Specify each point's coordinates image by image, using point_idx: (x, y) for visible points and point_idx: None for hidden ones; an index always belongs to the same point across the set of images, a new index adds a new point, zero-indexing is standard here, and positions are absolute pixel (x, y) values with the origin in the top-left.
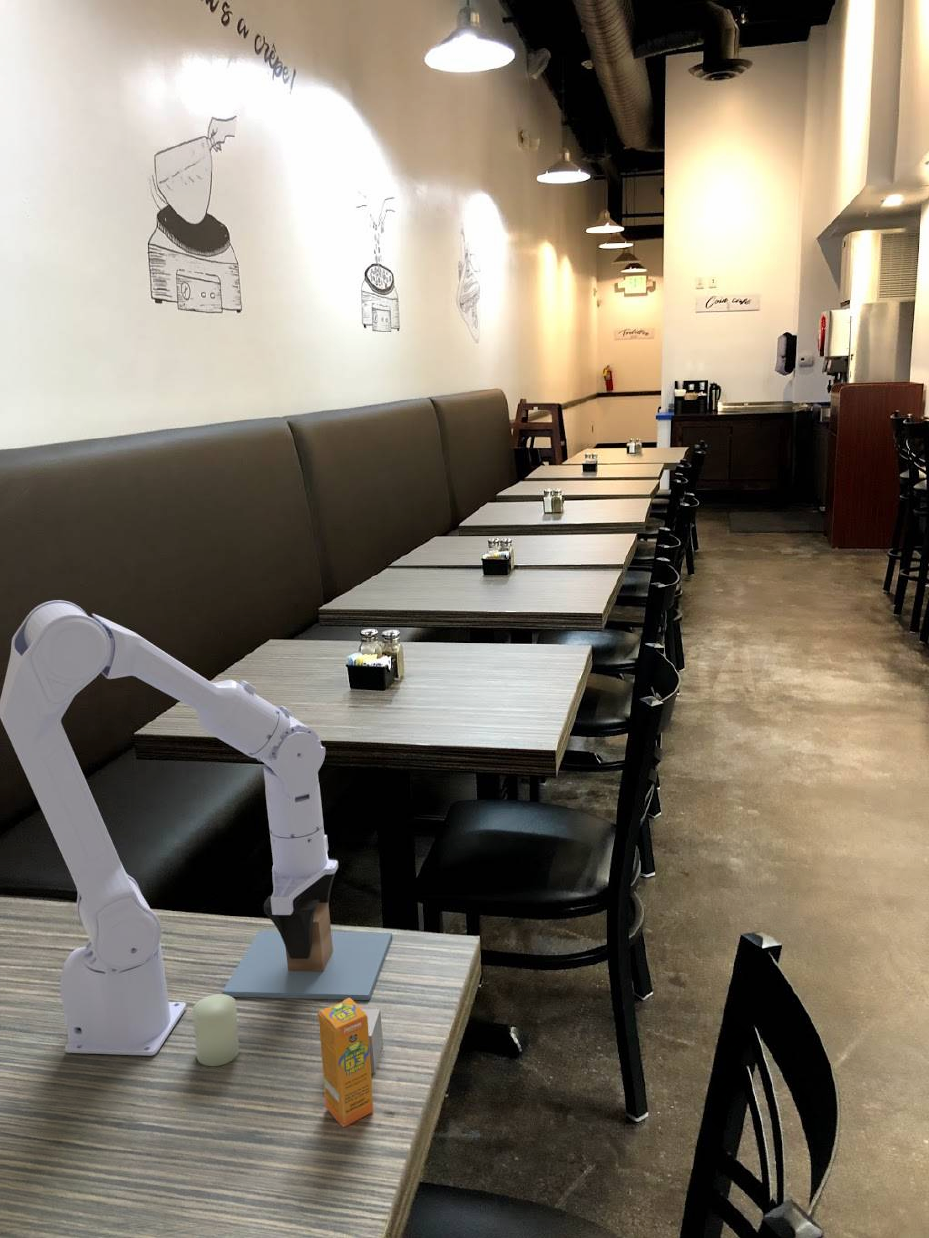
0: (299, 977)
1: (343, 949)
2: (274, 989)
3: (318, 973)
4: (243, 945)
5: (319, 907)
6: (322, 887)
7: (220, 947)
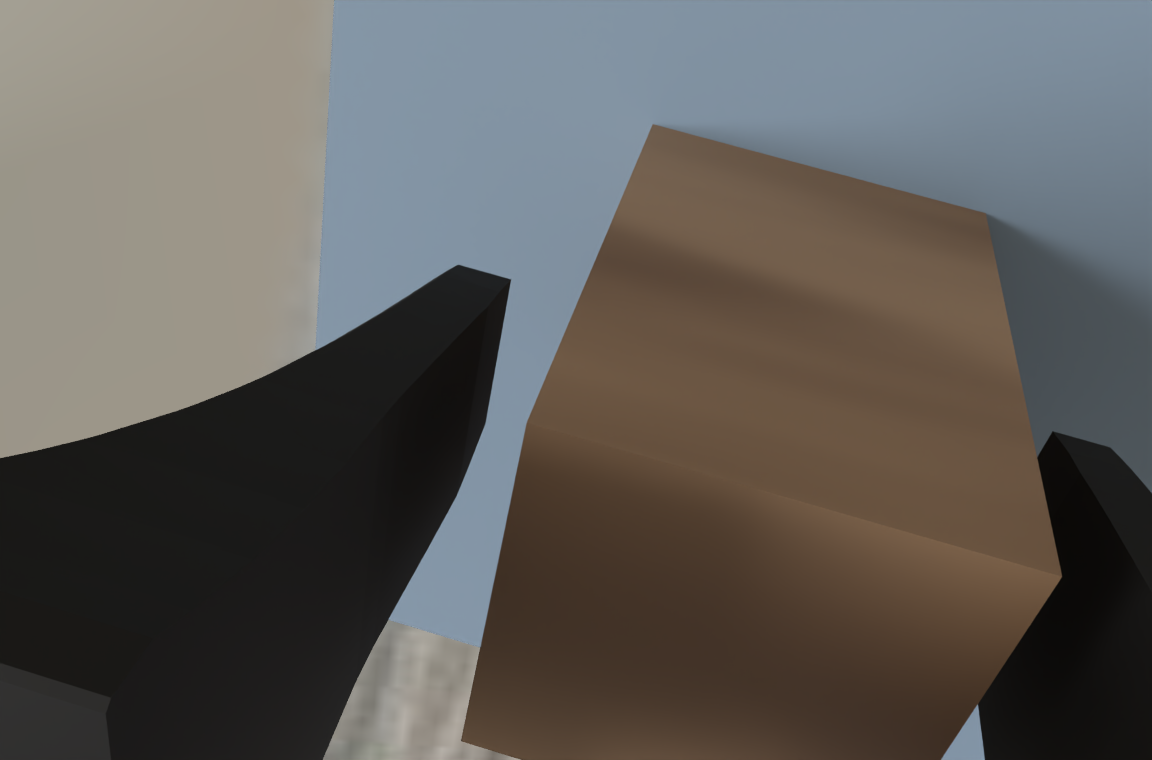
0: None
1: (642, 23)
2: None
3: (1002, 256)
4: (425, 647)
5: (633, 527)
6: (314, 579)
7: (436, 738)
